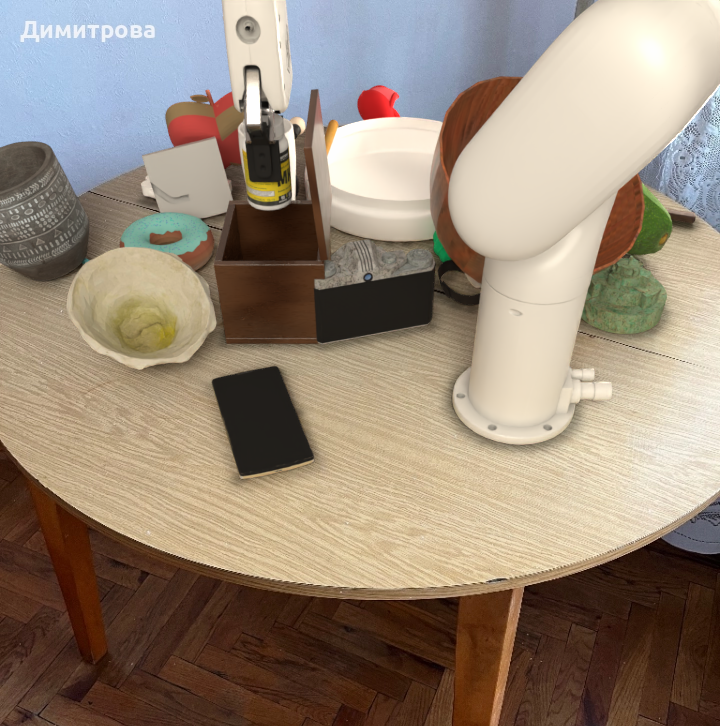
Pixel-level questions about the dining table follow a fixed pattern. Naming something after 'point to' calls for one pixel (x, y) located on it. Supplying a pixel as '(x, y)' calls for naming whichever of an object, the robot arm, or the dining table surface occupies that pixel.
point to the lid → (318, 173)
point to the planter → (39, 214)
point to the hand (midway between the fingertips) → (268, 165)
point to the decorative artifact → (624, 298)
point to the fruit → (652, 226)
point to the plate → (383, 178)
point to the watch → (457, 297)
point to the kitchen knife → (681, 216)
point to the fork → (330, 134)
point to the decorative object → (207, 124)
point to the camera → (373, 291)
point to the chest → (269, 274)
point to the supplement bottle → (271, 192)
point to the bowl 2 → (455, 136)
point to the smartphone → (261, 422)
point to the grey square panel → (189, 179)
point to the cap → (377, 103)
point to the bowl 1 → (141, 307)
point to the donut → (172, 236)
